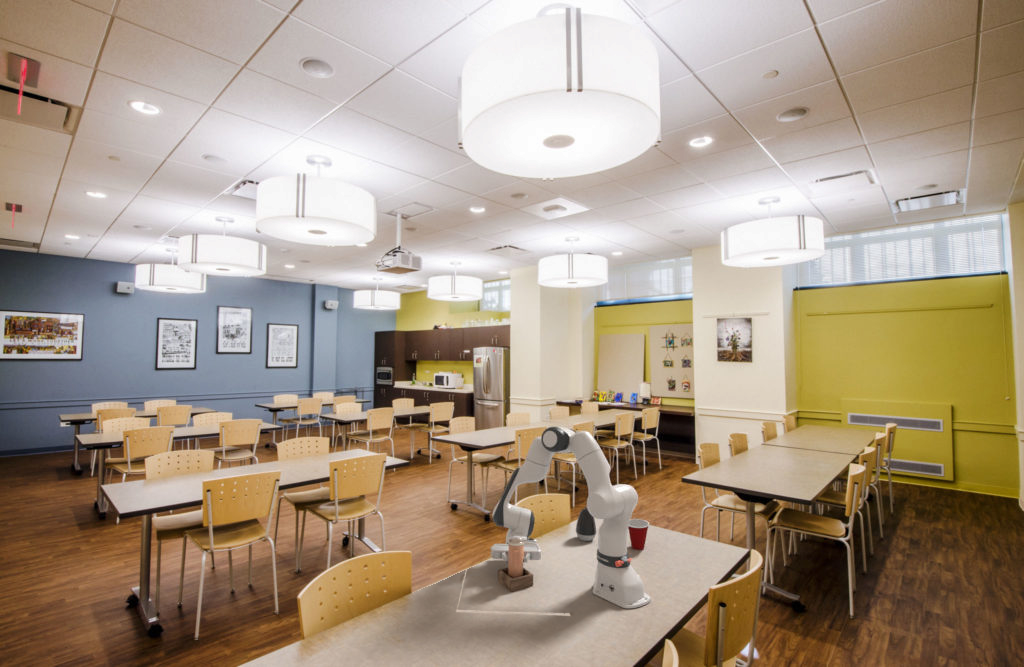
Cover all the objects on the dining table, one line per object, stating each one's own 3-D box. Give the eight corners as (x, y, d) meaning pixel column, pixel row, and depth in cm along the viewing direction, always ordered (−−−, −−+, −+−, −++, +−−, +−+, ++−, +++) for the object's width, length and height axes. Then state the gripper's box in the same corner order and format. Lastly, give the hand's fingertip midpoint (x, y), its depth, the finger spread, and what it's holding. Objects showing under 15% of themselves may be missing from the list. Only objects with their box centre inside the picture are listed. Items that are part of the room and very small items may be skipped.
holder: (533, 587, 183) (533, 574, 183) (510, 593, 178) (511, 580, 178) (519, 577, 192) (519, 564, 192) (497, 583, 186) (498, 569, 187)
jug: (507, 579, 188) (508, 538, 189) (523, 580, 188) (524, 538, 189) (507, 589, 179) (508, 546, 181) (523, 590, 179) (524, 546, 180)
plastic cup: (621, 545, 229) (621, 519, 230) (638, 542, 234) (639, 517, 234) (635, 553, 219) (636, 527, 220) (654, 550, 224) (654, 524, 224)
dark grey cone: (595, 536, 240) (595, 505, 241) (597, 543, 230) (597, 511, 231) (575, 534, 241) (575, 504, 242) (575, 542, 231) (576, 510, 232)
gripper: (491, 537, 199) (489, 551, 185) (540, 539, 198) (541, 552, 185) (491, 553, 198) (489, 567, 184) (539, 554, 198) (541, 569, 184)
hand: (515, 560), depth 185 cm, fingers closed on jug, 6 cm apart
